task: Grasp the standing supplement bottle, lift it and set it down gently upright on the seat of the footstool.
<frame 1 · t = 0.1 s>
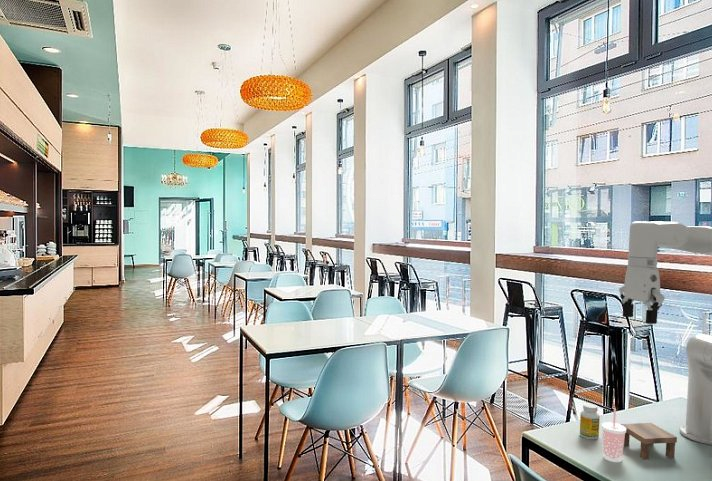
hand: (639, 320, 152), 37 cm above the table, tool pointing down, fingers open, 9 cm apart
beverage cup: (612, 458, 142), on the table
footstool: (647, 450, 147), on the table
supplement bottle: (589, 436, 156), on the table
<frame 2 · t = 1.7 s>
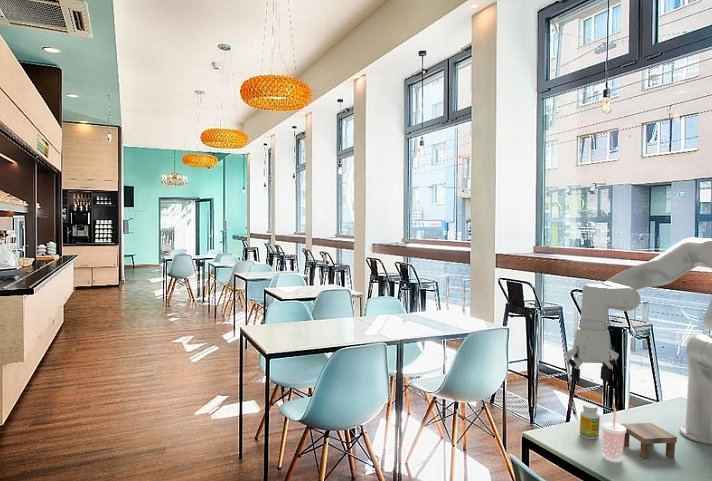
hand: (590, 380, 155), 17 cm above the table, tool pointing down, fingers open, 9 cm apart
nothing on the table moved.
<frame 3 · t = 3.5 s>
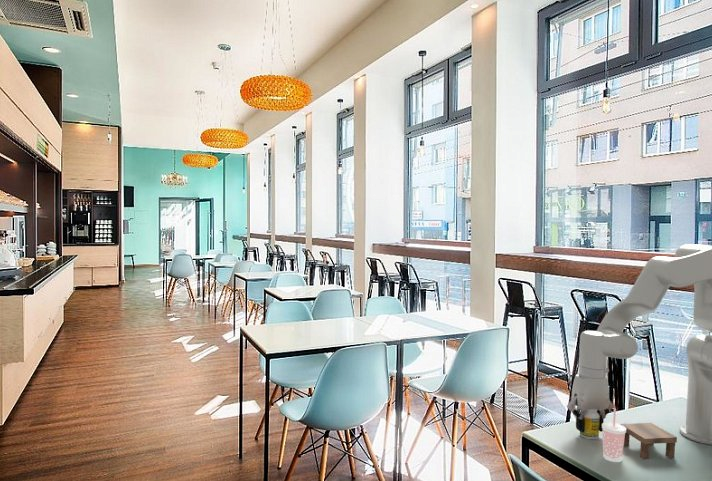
hand: (589, 429, 156), 2 cm above the table, tool pointing down, fingers closed on supplement bottle, 5 cm apart
supplement bottle: (589, 436, 156), on the table, touching gripper
everything else where it was.
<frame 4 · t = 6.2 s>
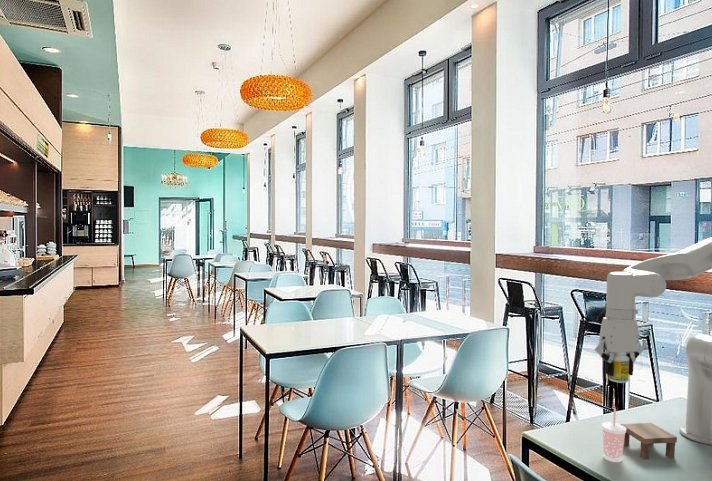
hand: (618, 373, 151), 21 cm above the table, tool pointing down, fingers closed on supplement bottle, 5 cm apart
supplement bottle: (618, 381, 151), point 19 cm above the table, touching gripper
everything else where it was.
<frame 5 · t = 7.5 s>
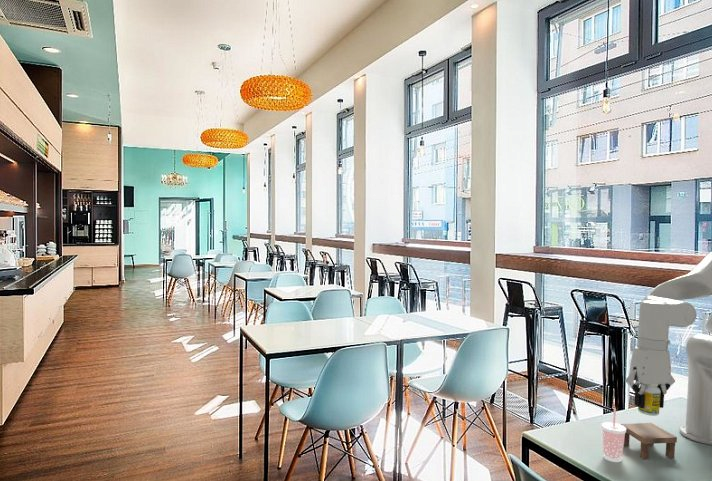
hand: (648, 405, 146), 13 cm above the table, tool pointing down, fingers closed on supplement bottle, 5 cm apart
supplement bottle: (648, 413, 146), point 11 cm above the table, touching gripper
everything else where it was.
when the fingers open (9 cm above the table, at t = 8.8 s): supplement bottle stays where it is, resting on footstool.
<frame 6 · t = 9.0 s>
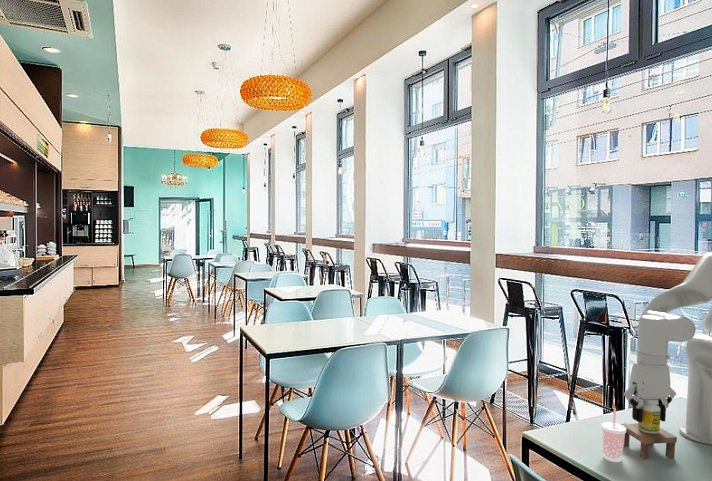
hand: (648, 419, 146), 9 cm above the table, tool pointing down, fingers open, 6 cm apart
supplement bottle: (648, 431, 146), point 6 cm above the table, touching footstool
everything else where it was.
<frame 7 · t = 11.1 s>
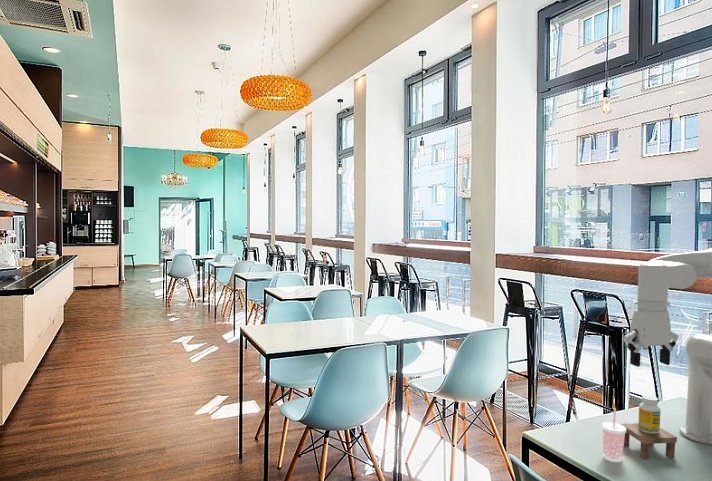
hand: (649, 364, 147), 25 cm above the table, tool pointing down, fingers open, 9 cm apart
nothing on the table moved.
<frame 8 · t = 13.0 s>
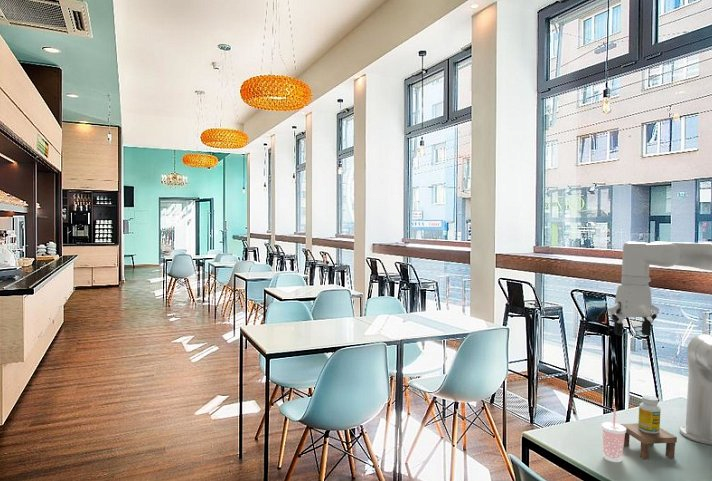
hand: (632, 334, 161), 30 cm above the table, tool pointing down, fingers open, 9 cm apart
nothing on the table moved.
at the end: supplement bottle inside the target area (0.2 cm from its centre), point 5.8 cm above the table; supplement bottle tilted 0°; the gripper is holding nothing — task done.
